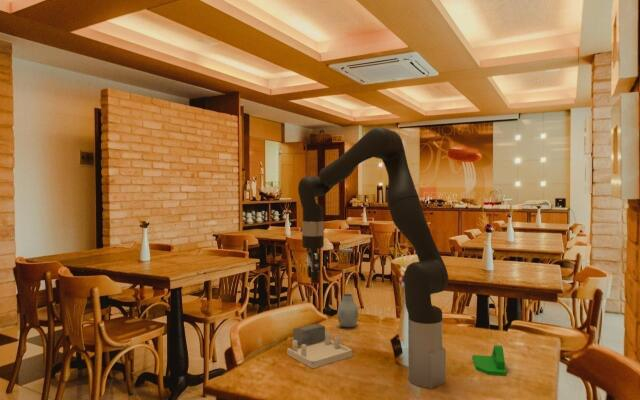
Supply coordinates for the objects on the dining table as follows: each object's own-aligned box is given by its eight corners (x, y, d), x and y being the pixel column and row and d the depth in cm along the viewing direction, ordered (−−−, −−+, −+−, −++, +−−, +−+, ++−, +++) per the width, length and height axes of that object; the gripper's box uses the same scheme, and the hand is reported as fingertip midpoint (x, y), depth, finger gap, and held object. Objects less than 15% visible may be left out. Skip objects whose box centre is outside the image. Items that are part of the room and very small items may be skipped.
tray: (353, 356, 143) (353, 340, 143) (312, 368, 134) (312, 352, 134) (326, 343, 155) (326, 329, 154) (287, 354, 145) (287, 339, 145)
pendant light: (333, 325, 175) (332, 248, 174) (352, 322, 179) (351, 247, 178) (343, 331, 168) (342, 251, 167) (362, 328, 171) (361, 249, 170)
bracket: (472, 359, 141) (472, 337, 140) (498, 361, 139) (498, 339, 139) (477, 375, 129) (477, 351, 129) (506, 377, 127) (506, 353, 127)
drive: (325, 340, 159) (324, 326, 158) (301, 346, 153) (301, 332, 152) (316, 336, 163) (316, 322, 162) (293, 342, 157) (293, 328, 156)
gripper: (327, 236, 151) (327, 284, 151) (319, 231, 165) (319, 275, 165) (305, 236, 149) (305, 285, 150) (299, 231, 163) (299, 276, 164)
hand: (313, 279), depth 158 cm, fingers open, 8 cm apart
